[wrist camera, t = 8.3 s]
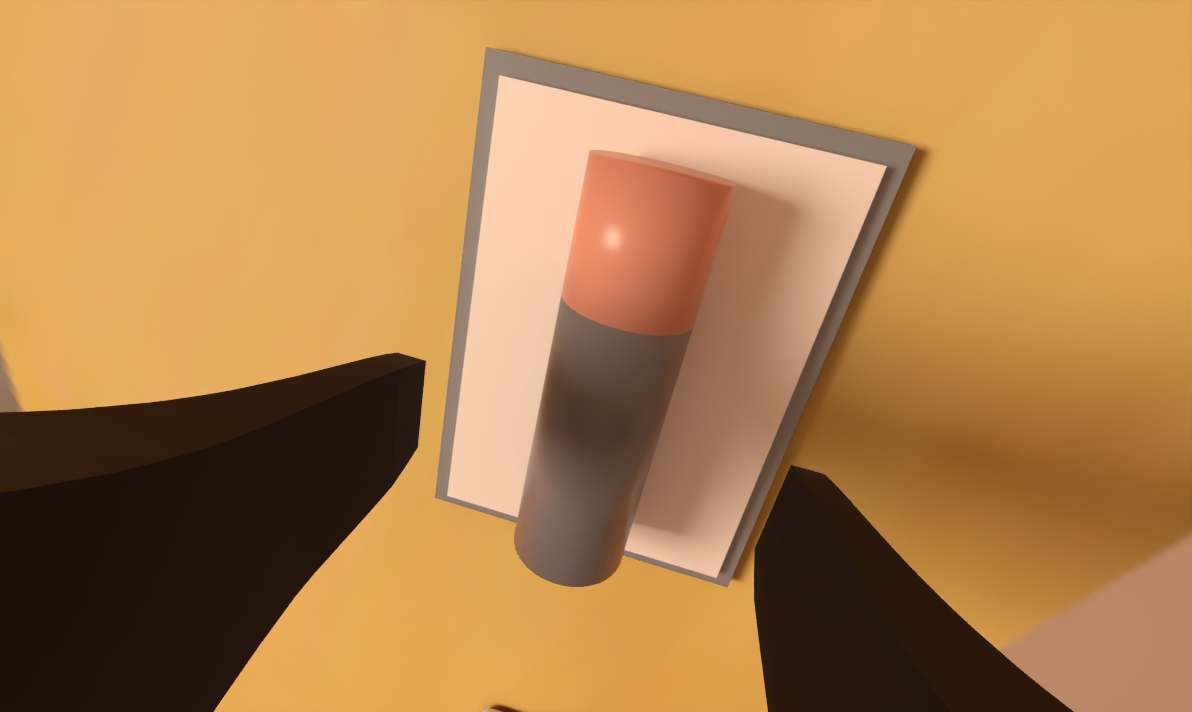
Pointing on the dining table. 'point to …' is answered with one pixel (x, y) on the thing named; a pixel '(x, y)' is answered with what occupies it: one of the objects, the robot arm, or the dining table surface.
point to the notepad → (726, 314)
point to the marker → (615, 357)
